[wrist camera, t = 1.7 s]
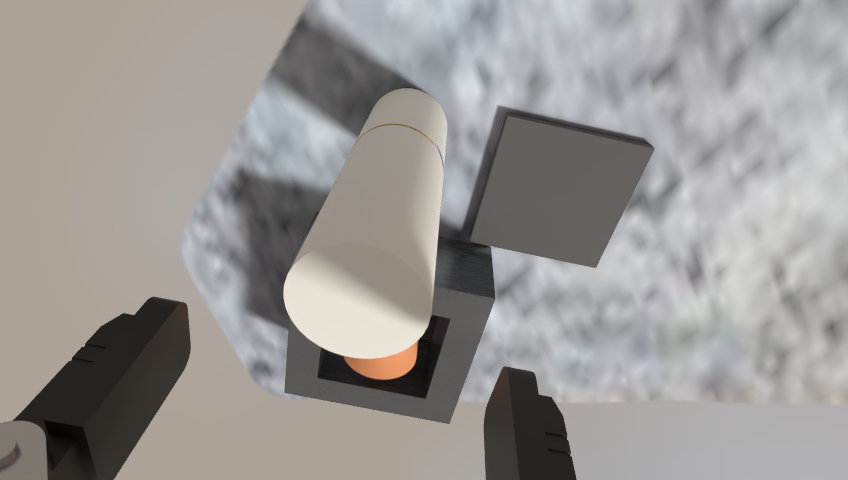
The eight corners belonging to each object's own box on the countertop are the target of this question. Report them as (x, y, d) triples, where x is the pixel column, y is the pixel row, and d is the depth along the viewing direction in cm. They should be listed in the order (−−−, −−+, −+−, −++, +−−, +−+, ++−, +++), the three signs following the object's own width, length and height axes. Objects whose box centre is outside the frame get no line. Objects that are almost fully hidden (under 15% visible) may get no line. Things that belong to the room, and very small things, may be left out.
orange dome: (353, 296, 29) (346, 319, 27) (425, 311, 29) (423, 334, 27) (345, 348, 31) (338, 371, 30) (412, 361, 32) (409, 385, 30)
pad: (507, 112, 26) (507, 115, 25) (651, 144, 26) (654, 148, 26) (469, 236, 30) (469, 241, 29) (593, 262, 30) (595, 268, 30)
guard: (317, 211, 30) (293, 257, 26) (490, 247, 30) (495, 298, 26) (305, 338, 36) (284, 392, 32) (450, 366, 36) (449, 424, 32)
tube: (353, 121, 27) (252, 293, 14) (412, 70, 25) (358, 214, 12) (404, 177, 28) (356, 377, 16) (463, 133, 26) (462, 317, 14)
